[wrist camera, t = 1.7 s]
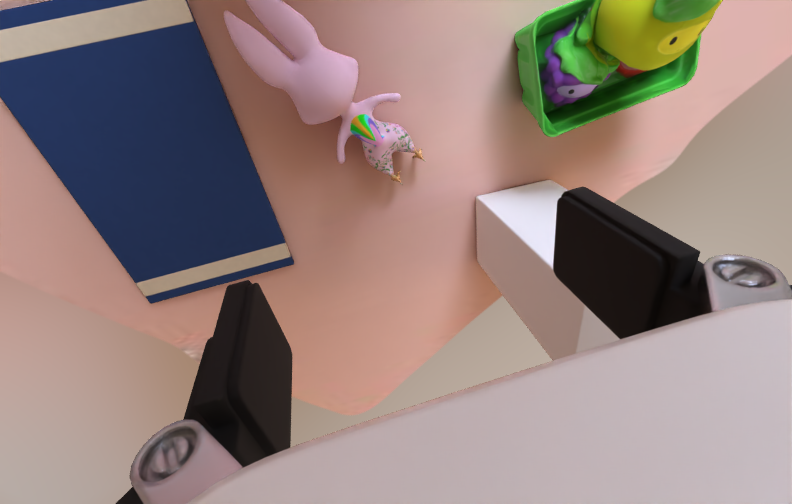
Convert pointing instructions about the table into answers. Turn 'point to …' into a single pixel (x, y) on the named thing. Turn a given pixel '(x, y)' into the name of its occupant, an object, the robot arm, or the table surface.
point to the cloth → (141, 138)
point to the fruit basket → (607, 57)
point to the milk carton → (534, 267)
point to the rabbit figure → (317, 81)
